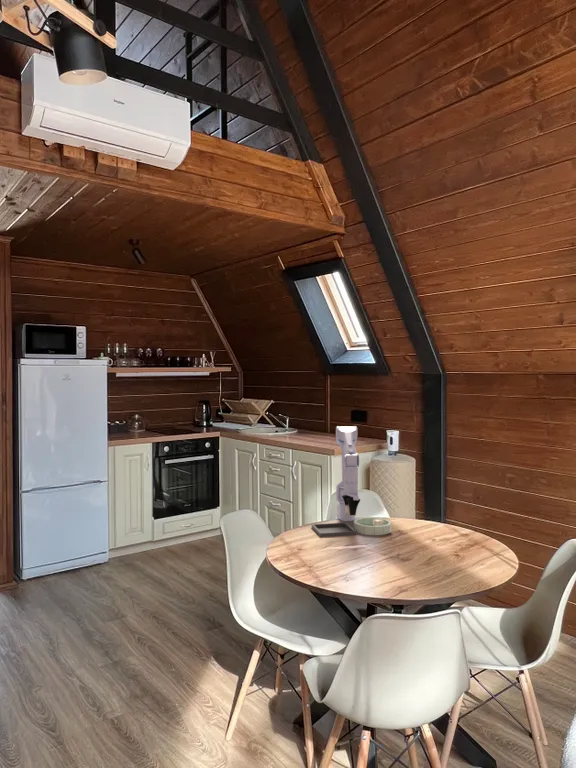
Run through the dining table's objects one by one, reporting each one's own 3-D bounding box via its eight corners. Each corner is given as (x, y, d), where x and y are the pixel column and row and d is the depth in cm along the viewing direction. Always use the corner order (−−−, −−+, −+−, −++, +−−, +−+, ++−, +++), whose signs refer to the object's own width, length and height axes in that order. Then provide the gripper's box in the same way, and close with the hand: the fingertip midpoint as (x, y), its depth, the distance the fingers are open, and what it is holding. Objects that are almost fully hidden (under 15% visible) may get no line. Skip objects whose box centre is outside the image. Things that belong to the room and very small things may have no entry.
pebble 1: (344, 513, 249) (344, 504, 249) (354, 513, 250) (354, 504, 250) (347, 516, 245) (347, 507, 245) (357, 515, 246) (357, 506, 246)
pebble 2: (371, 528, 251) (371, 519, 251) (381, 528, 252) (381, 518, 252) (375, 531, 247) (375, 522, 246) (384, 530, 247) (385, 521, 247)
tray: (311, 529, 252) (311, 524, 252) (345, 528, 255) (345, 522, 255) (320, 539, 238) (320, 533, 238) (356, 537, 241) (356, 531, 241)
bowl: (349, 528, 255) (349, 518, 255) (382, 526, 258) (382, 516, 258) (361, 538, 239) (361, 527, 239) (396, 536, 243) (396, 525, 243)
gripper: (337, 479, 253) (337, 509, 254) (347, 485, 239) (346, 518, 240) (352, 478, 255) (352, 509, 255) (363, 484, 241) (363, 517, 241)
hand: (350, 513), depth 247 cm, fingers closed on pebble 1, 4 cm apart
